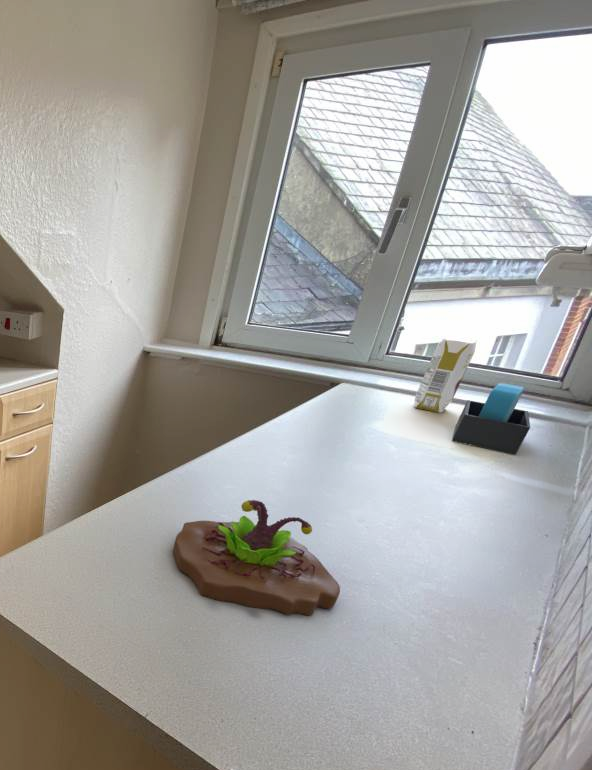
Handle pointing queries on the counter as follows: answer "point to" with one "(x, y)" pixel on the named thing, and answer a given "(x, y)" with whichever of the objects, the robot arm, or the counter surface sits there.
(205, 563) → the plant
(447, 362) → the juice carton
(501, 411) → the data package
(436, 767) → the counter surface
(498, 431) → the box
